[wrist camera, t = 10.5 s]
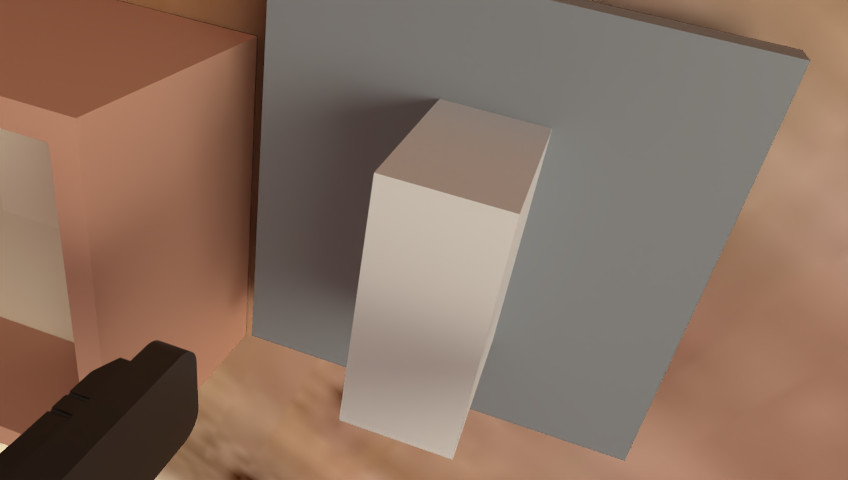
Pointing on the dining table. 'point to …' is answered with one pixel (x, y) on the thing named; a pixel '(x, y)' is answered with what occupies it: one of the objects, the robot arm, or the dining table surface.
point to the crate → (118, 193)
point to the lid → (501, 203)
